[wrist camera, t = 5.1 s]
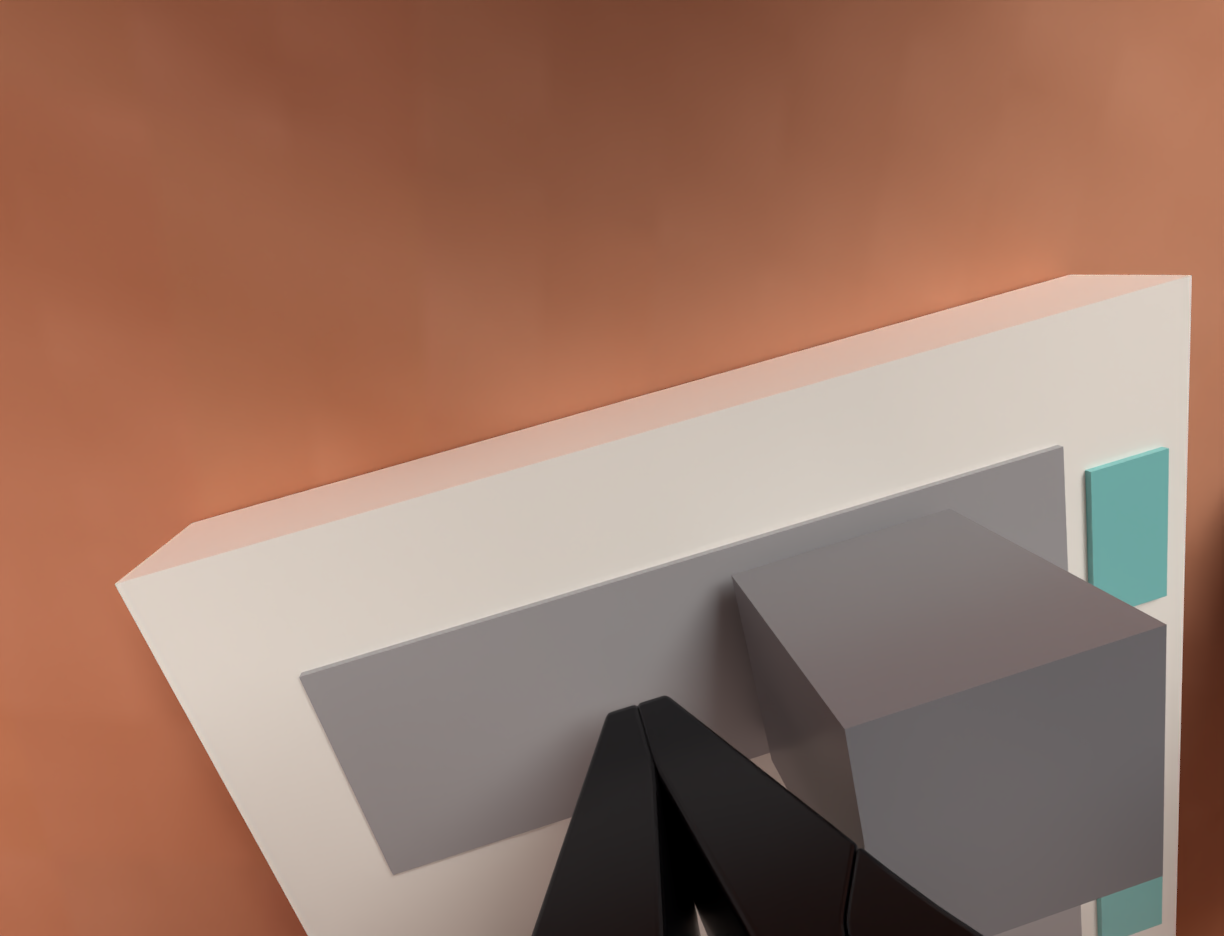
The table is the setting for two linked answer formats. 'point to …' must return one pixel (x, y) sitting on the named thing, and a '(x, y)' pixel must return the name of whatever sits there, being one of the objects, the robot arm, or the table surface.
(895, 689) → the tab
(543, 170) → the table surface
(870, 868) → the robot arm
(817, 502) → the switch panel
